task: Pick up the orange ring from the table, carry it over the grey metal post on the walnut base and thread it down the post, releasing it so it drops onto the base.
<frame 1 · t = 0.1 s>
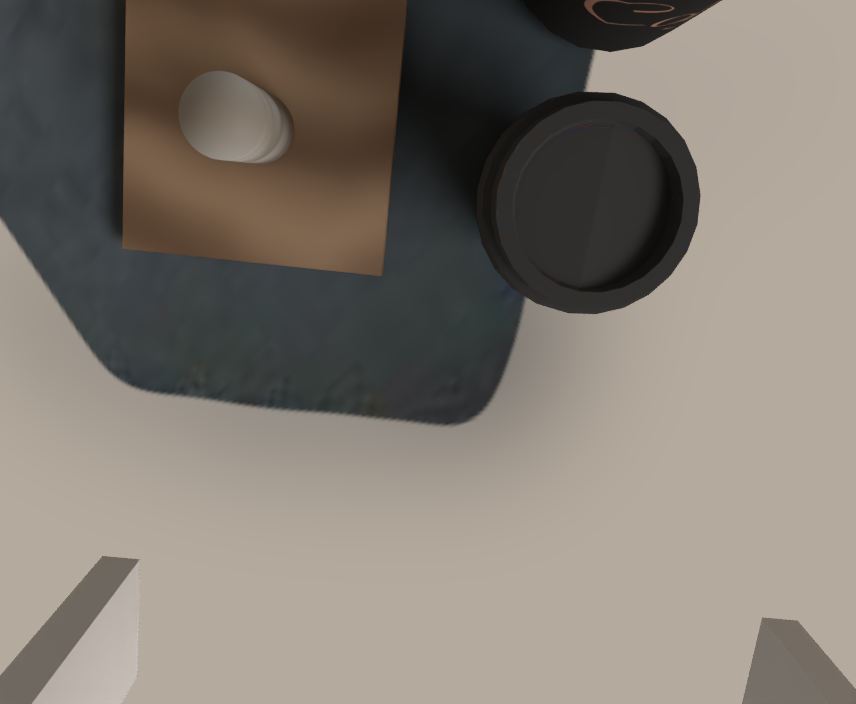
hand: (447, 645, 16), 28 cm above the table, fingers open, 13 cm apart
coffee cup: (535, 197, 41), on the table
post block: (265, 130, 40), on the table
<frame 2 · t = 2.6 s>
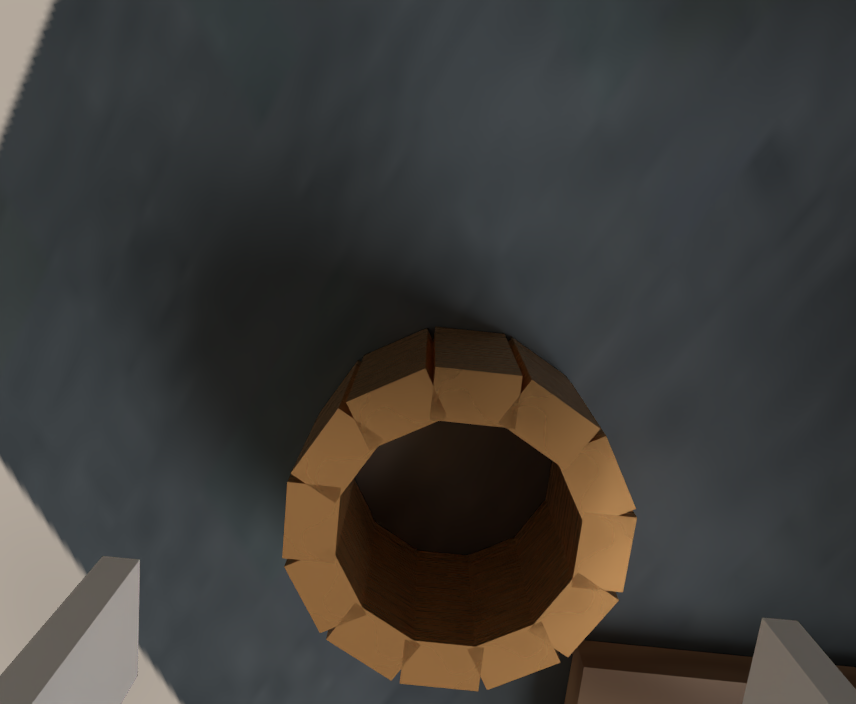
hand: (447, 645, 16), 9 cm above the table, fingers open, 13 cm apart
orange ring: (453, 465, 24), on the table
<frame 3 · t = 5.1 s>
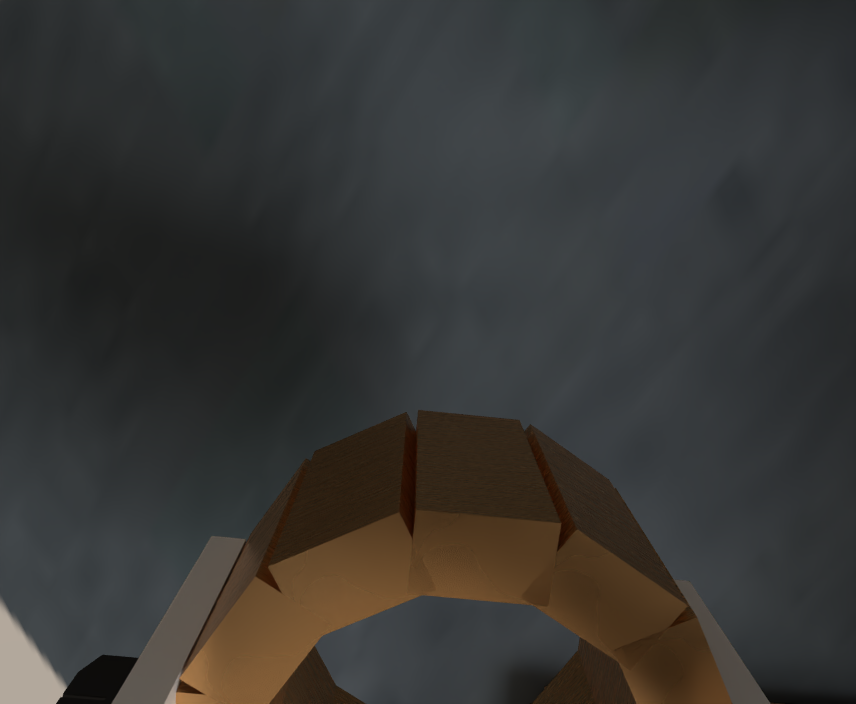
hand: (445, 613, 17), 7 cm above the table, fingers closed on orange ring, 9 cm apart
orange ring: (445, 605, 17), point 6 cm above the table, touching gripper
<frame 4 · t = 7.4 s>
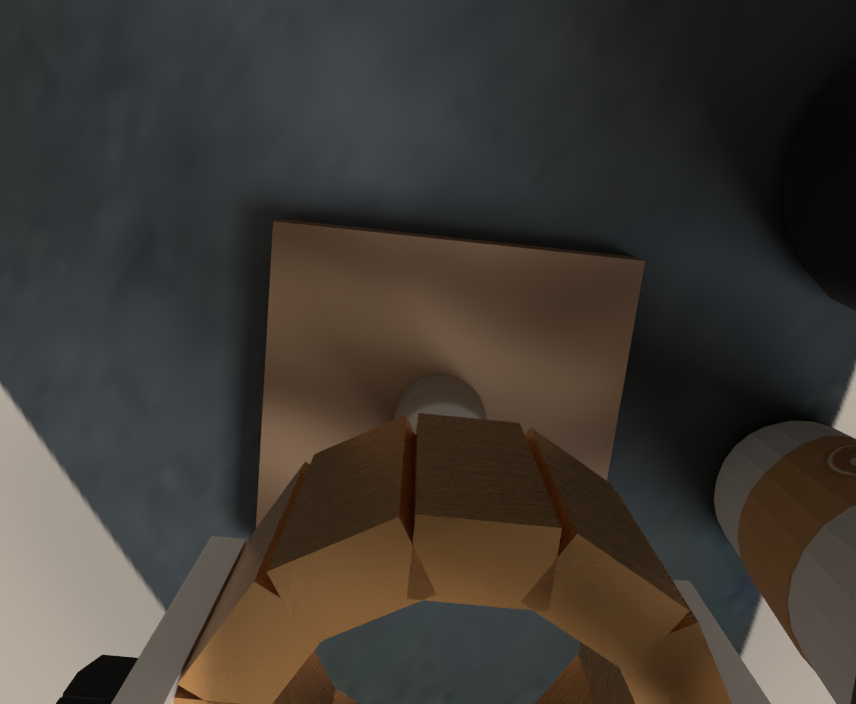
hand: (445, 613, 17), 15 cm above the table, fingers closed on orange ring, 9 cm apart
coffee cup: (781, 484, 32), on the table
orange ring: (445, 608, 17), point 14 cm above the table, touching gripper
post block: (439, 406, 31), on the table
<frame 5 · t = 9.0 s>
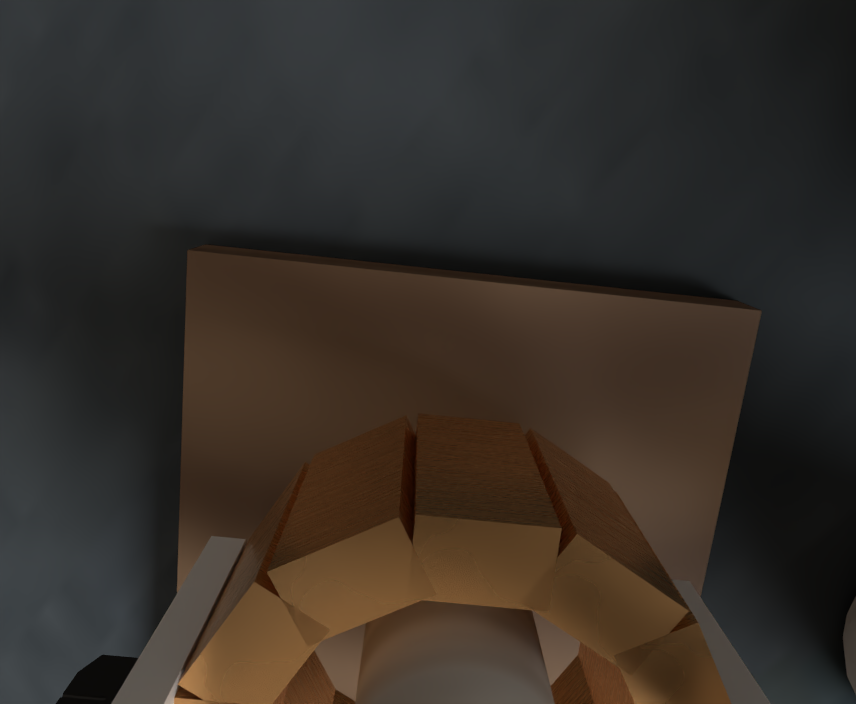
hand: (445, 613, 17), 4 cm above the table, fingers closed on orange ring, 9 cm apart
orange ring: (445, 609, 17), point 4 cm above the table, touching gripper
post block: (444, 517, 21), on the table
when the fingers open (2 cm above the table, at t = 10.0 s): orange ring stays where it is, resting on post block.
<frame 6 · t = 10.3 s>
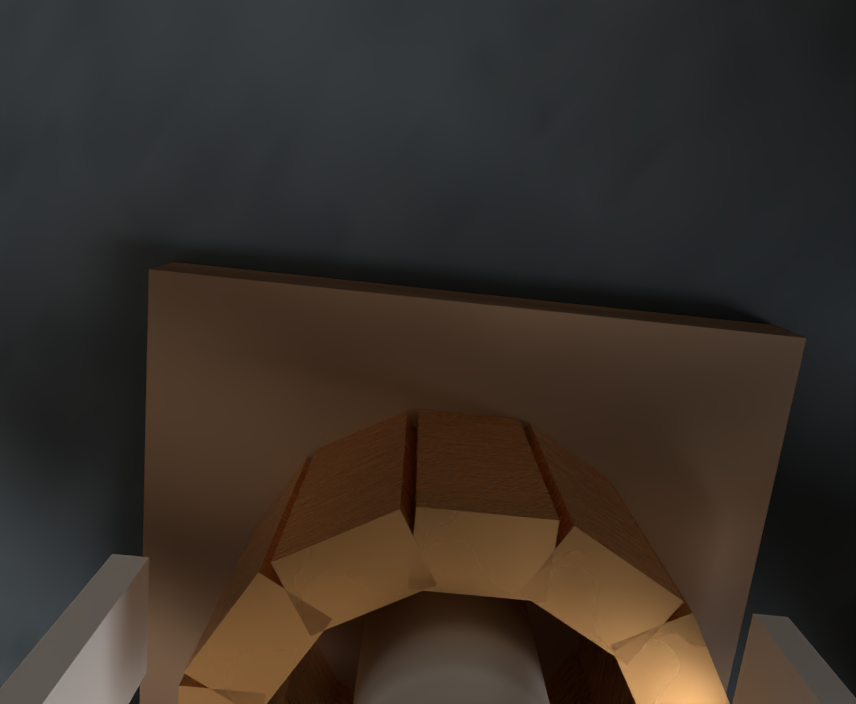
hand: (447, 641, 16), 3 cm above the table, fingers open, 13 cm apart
orange ring: (445, 601, 17), point 1 cm above the table, touching post block
post block: (443, 567, 19), on the table
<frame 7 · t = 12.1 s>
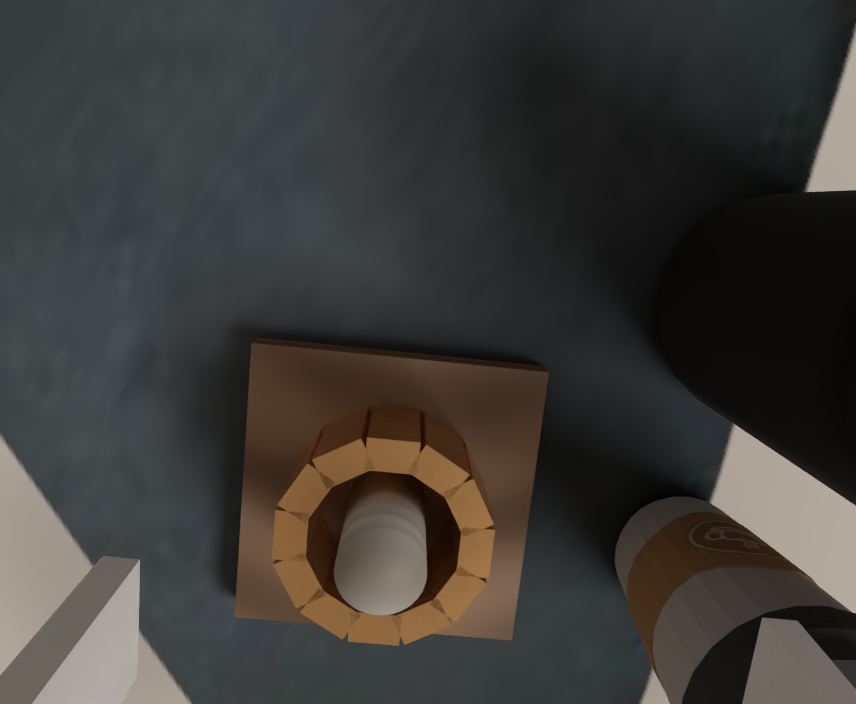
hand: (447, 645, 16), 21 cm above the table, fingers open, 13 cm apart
coffee cup: (671, 547, 39), on the table
coffee jar: (755, 305, 36), on the table
orange ring: (387, 498, 36), point 1 cm above the table, touching post block
post block: (388, 486, 37), on the table
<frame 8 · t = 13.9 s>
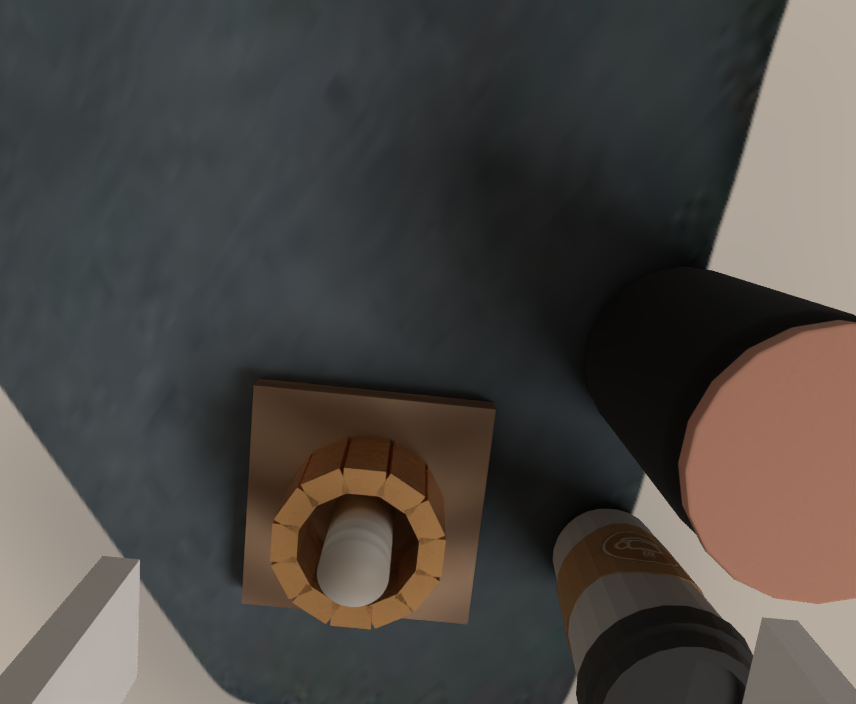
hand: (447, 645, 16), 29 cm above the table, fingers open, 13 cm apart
coffee cup: (600, 549, 47), on the table
coffee jar: (668, 353, 44), on the table
orange ring: (364, 509, 44), point 1 cm above the table, touching post block
post block: (366, 499, 46), on the table
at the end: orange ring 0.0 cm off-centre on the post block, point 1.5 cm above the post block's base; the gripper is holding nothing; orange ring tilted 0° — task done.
